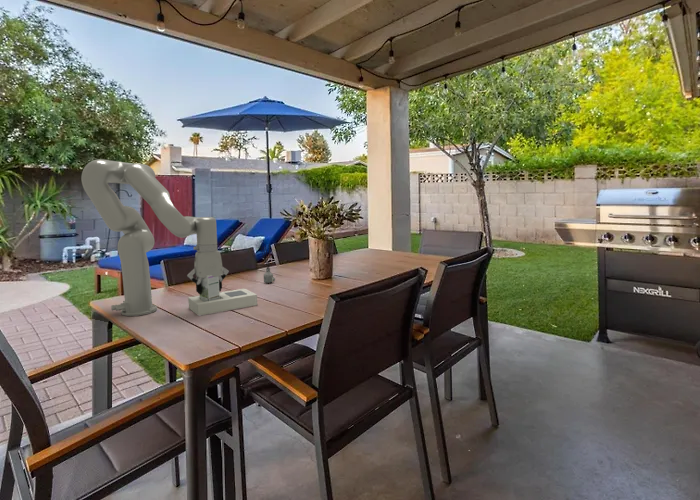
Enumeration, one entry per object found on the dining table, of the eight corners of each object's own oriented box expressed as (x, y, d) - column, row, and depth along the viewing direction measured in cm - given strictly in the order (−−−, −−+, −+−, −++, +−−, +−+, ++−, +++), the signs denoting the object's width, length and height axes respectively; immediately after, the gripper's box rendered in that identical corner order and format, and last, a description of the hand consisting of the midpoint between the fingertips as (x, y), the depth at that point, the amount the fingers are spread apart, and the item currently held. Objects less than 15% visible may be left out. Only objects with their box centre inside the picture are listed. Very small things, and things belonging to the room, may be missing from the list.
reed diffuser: (269, 285, 207) (268, 245, 204) (256, 284, 208) (255, 245, 205) (277, 280, 216) (276, 242, 213) (265, 280, 218) (263, 242, 215)
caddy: (198, 316, 158) (197, 304, 157) (188, 308, 168) (188, 296, 168) (257, 305, 172) (256, 294, 171) (245, 298, 182) (244, 288, 182)
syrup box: (220, 307, 168) (219, 272, 166) (208, 311, 163) (207, 275, 161) (211, 305, 171) (210, 271, 169) (199, 308, 166) (197, 273, 164)
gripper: (187, 251, 155) (189, 297, 158) (232, 247, 166) (233, 291, 168) (181, 249, 161) (184, 293, 164) (225, 245, 172) (227, 287, 174)
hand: (209, 291), depth 166 cm, fingers closed on syrup box, 7 cm apart
